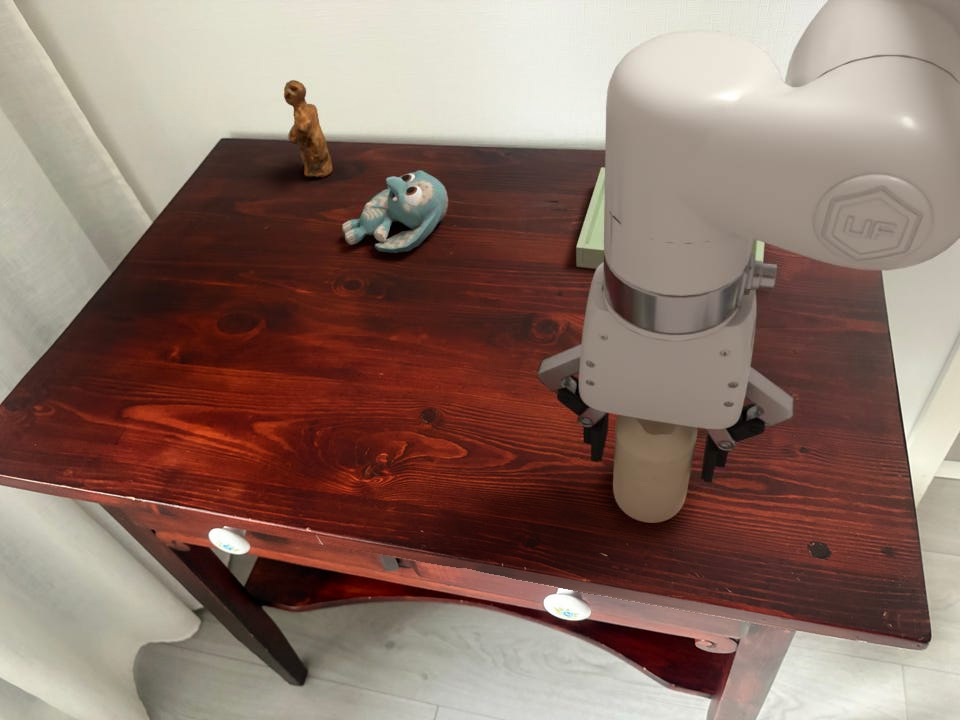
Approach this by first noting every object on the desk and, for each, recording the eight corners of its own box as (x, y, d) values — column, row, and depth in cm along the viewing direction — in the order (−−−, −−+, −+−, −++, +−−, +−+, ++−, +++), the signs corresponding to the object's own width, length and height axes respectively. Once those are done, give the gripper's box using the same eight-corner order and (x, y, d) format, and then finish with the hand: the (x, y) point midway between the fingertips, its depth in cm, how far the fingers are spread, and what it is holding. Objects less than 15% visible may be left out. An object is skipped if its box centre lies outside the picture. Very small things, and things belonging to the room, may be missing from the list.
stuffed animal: (318, 179, 81) (419, 132, 81) (346, 226, 87) (440, 182, 86) (336, 237, 74) (446, 186, 74) (365, 285, 80) (468, 237, 79)
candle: (608, 517, 57) (611, 442, 49) (617, 457, 60) (621, 378, 53) (683, 529, 56) (697, 454, 48) (687, 467, 59) (702, 387, 52)
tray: (765, 200, 79) (769, 179, 77) (758, 287, 71) (762, 266, 69) (600, 186, 84) (601, 167, 82) (576, 266, 76) (575, 247, 74)
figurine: (290, 182, 91) (257, 91, 82) (316, 156, 94) (287, 65, 85) (321, 189, 89) (291, 97, 80) (347, 162, 93) (321, 70, 84)
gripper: (844, 245, 41) (782, 434, 54) (534, 215, 46) (547, 396, 59) (846, 345, 36) (778, 525, 50) (501, 301, 41) (523, 476, 54)
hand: (652, 454), depth 54 cm, fingers open, 7 cm apart
